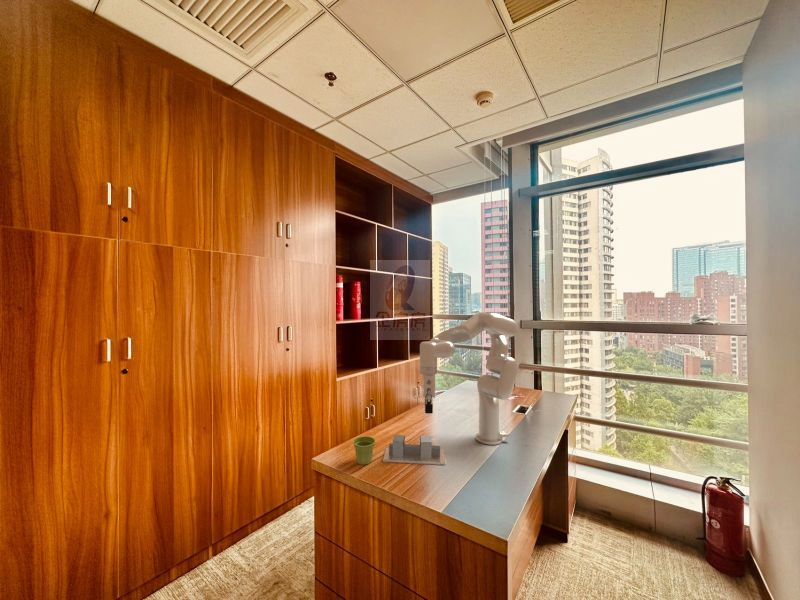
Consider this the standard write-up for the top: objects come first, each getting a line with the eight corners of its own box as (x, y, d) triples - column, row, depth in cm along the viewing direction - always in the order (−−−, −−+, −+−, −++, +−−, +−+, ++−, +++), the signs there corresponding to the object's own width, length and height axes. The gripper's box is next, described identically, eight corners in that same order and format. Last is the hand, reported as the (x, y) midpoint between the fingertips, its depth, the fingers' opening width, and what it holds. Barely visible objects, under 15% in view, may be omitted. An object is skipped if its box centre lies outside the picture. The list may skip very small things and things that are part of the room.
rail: (443, 452, 141) (443, 434, 141) (445, 465, 130) (445, 445, 130) (386, 449, 143) (386, 431, 143) (383, 461, 132) (383, 442, 132)
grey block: (431, 452, 139) (431, 436, 139) (431, 458, 133) (431, 442, 133) (419, 451, 139) (420, 435, 139) (419, 458, 133) (419, 441, 133)
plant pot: (365, 469, 126) (366, 448, 126) (348, 463, 131) (348, 442, 131) (379, 459, 134) (379, 439, 134) (362, 454, 139) (362, 434, 139)
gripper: (438, 375, 128) (438, 416, 129) (436, 365, 146) (436, 402, 146) (419, 374, 129) (419, 416, 129) (420, 365, 146) (420, 402, 146)
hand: (428, 409), depth 137 cm, fingers open, 9 cm apart
